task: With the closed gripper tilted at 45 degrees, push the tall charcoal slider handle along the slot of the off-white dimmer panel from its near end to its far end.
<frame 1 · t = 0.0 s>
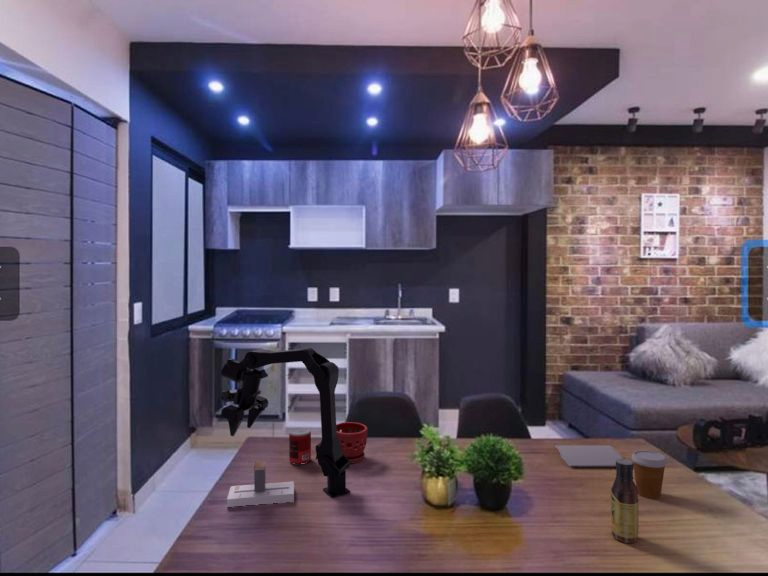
hand: (240, 431, 161), 15 cm above the table, tool pointing down, fingers open, 9 cm apart
slider handle: (260, 476, 146), point 7 cm above the table, slide at 0.0 cm
book: (588, 462, 176), on the table
dimmer panel: (261, 498, 146), on the table
disposable coffee cup: (648, 494, 148), on the table
sauce bottle: (624, 539, 123), on the table
plant pot: (349, 460, 177), on the table
canned food: (300, 461, 176), on the table
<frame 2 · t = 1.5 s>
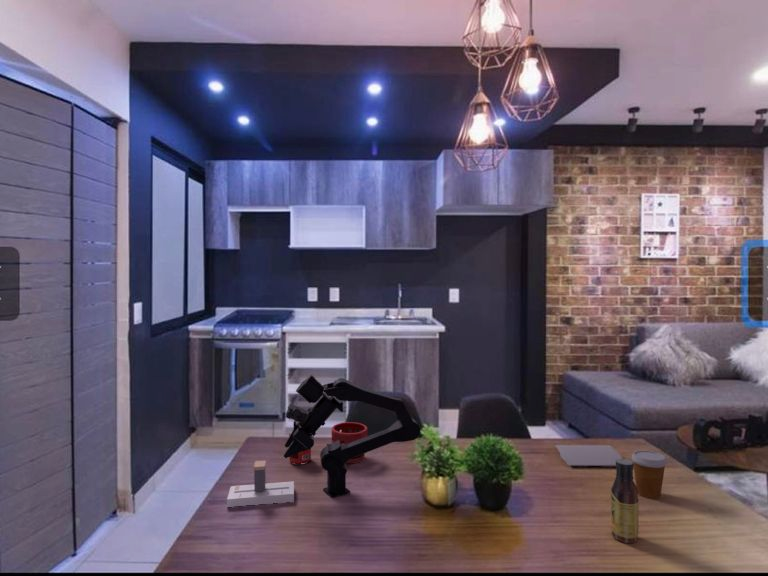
hand: (285, 451, 147), 14 cm above the table, tool tilted 45°, fingers open, 9 cm apart
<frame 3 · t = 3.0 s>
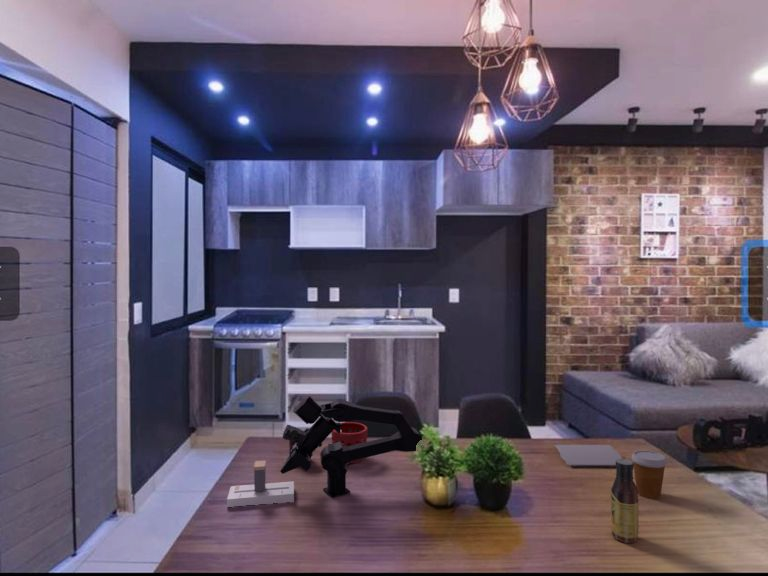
hand: (281, 472, 147), 7 cm above the table, tool tilted 45°, fingers closed
nothing on the table moved.
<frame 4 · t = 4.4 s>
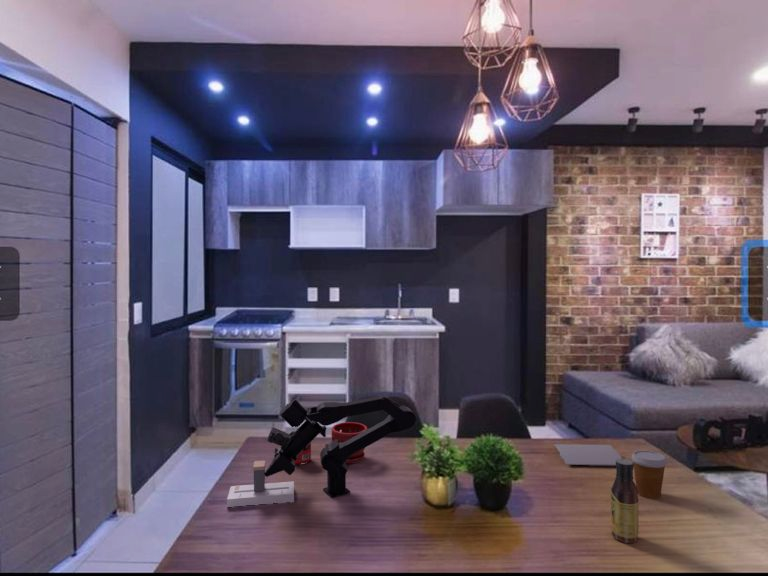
hand: (265, 475, 146), 7 cm above the table, tool tilted 45°, fingers closed, pressing on slider handle
slider handle: (259, 476, 146), point 7 cm above the table, slide at 0.2 cm, touching gripper
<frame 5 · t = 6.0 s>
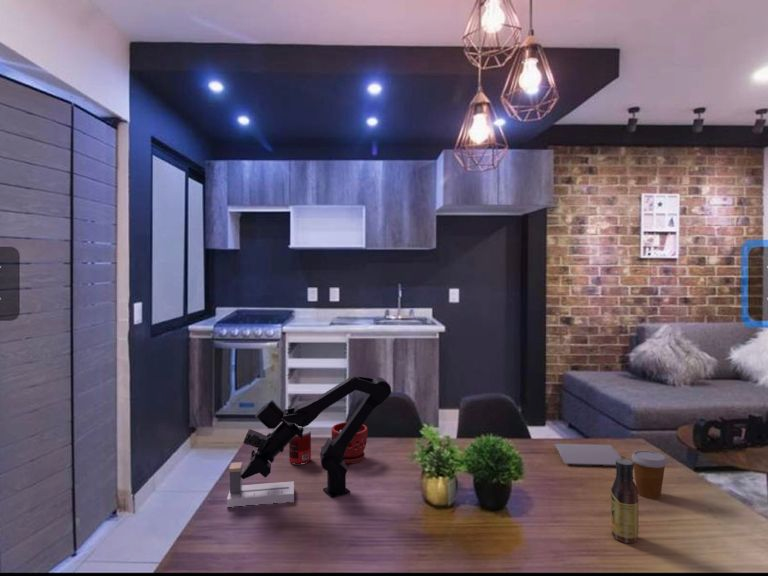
hand: (242, 477, 145), 7 cm above the table, tool tilted 45°, fingers closed, pressing on slider handle
slider handle: (235, 477, 145), point 7 cm above the table, slide at 7.0 cm, touching gripper
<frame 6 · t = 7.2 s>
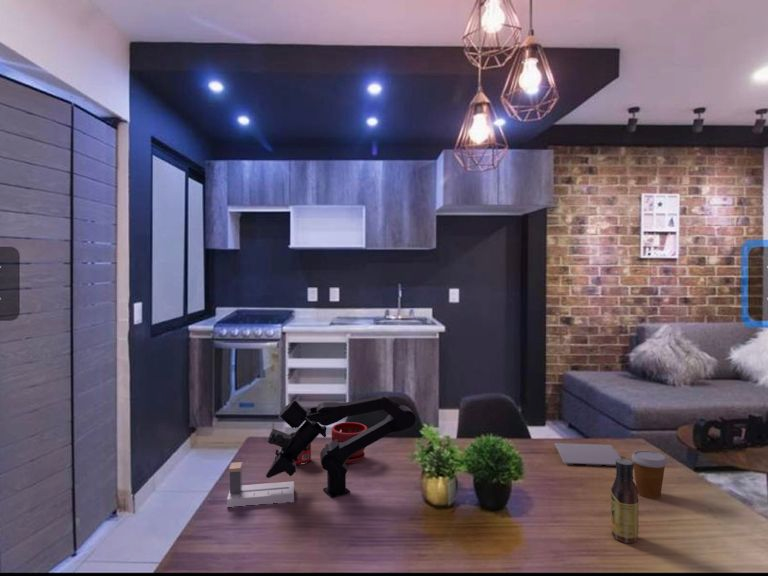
hand: (266, 476, 146), 6 cm above the table, tool tilted 45°, fingers closed
slider handle: (235, 477, 145), point 7 cm above the table, slide at 7.0 cm
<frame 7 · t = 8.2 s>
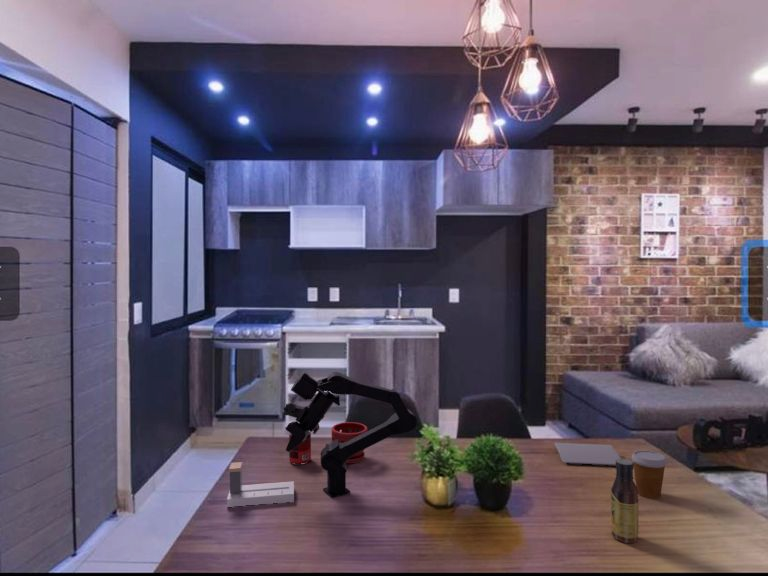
hand: (287, 450, 148), 14 cm above the table, tool tilted 35°, fingers closed
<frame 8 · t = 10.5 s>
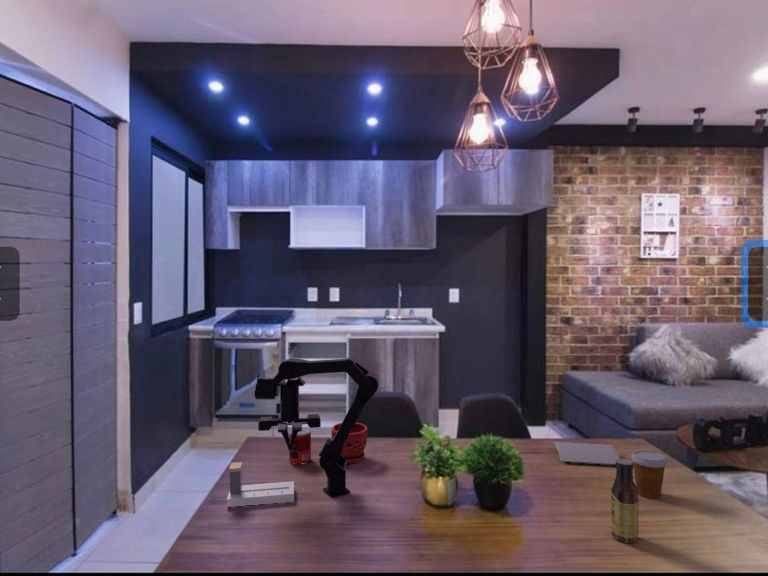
hand: (290, 449, 151), 13 cm above the table, tool pointing down, fingers closed
at the end: slider handle slide at 7.0 cm; canned food moved 0.2 cm from its start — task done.
